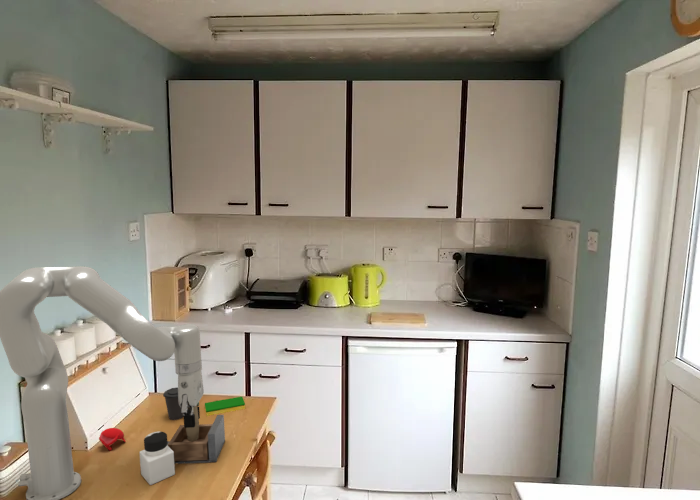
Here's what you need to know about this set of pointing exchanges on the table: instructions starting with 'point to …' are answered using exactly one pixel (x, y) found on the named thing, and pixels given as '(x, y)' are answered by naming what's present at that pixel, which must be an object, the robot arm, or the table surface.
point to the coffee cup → (173, 404)
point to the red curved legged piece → (111, 437)
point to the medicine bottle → (156, 458)
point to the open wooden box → (190, 444)
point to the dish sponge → (224, 406)
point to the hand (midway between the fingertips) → (192, 422)
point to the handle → (194, 431)
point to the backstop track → (212, 441)
